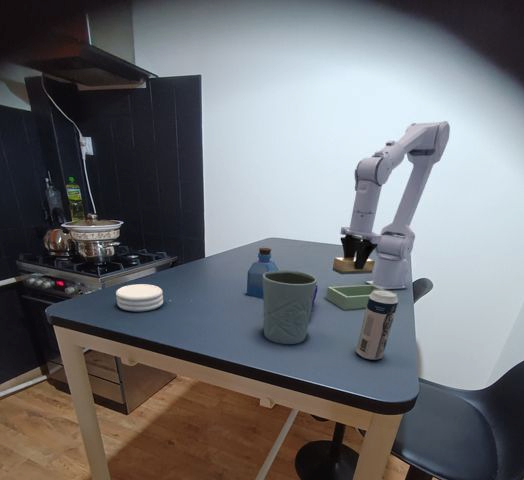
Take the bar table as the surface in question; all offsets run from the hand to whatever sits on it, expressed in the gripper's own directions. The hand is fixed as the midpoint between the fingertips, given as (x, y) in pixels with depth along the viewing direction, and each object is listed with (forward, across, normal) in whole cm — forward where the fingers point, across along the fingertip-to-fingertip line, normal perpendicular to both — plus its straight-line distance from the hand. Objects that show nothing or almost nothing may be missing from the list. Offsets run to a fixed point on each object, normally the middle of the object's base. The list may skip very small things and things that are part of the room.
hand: (353, 266), depth 86 cm
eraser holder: (+8, +5, 0) cm, 10 cm away
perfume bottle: (+9, -6, -24) cm, 26 cm away
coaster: (+9, -4, -55) cm, 56 cm away
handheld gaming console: (+9, +6, -21) cm, 23 cm away
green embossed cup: (+9, +19, -29) cm, 36 cm away
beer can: (+9, +31, -17) cm, 36 cm away
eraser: (+1, 0, 0) cm, 1 cm away
